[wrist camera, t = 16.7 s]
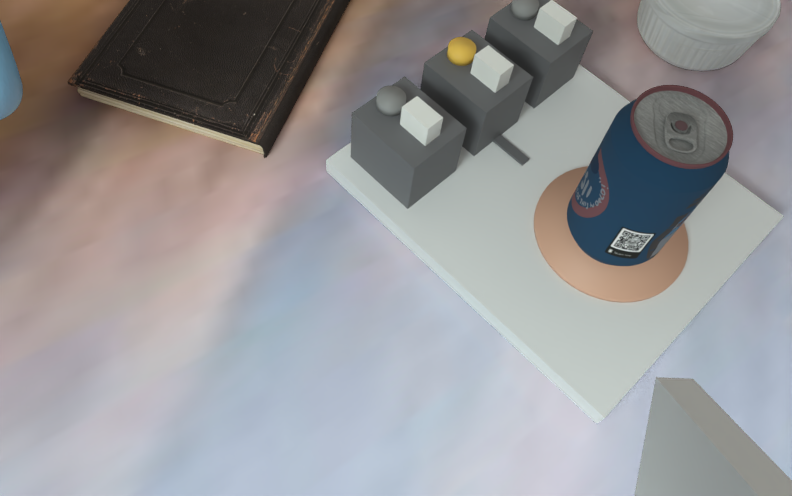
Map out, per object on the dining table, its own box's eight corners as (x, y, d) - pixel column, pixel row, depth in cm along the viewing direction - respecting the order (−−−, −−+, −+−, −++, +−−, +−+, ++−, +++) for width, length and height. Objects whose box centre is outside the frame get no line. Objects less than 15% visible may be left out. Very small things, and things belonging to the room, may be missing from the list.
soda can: (565, 181, 51) (623, 66, 41) (659, 200, 51) (741, 89, 41) (557, 263, 48) (618, 160, 37) (657, 284, 48) (747, 186, 37)
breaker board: (326, 171, 53) (324, 97, 45) (517, 33, 61) (541, -47, 54) (596, 424, 45) (647, 384, 37) (772, 226, 53) (841, 162, 46)
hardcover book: (77, 101, 55) (67, 81, 53) (208, -76, 66) (203, -98, 64) (267, 162, 53) (264, 144, 51) (368, -29, 64) (369, -51, 62)
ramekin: (747, 4, 65) (778, -44, 60) (752, 94, 60) (787, 49, 55) (628, -20, 65) (650, -69, 61) (622, 67, 60) (646, 21, 55)
